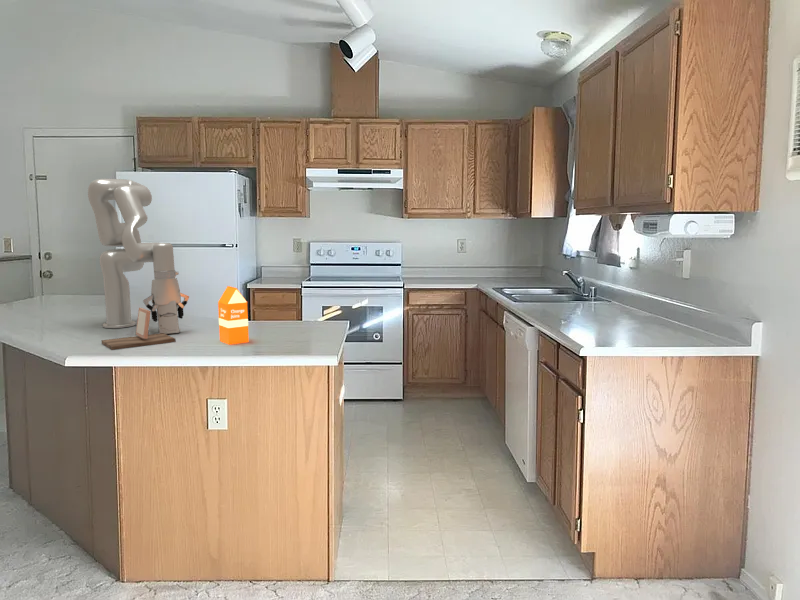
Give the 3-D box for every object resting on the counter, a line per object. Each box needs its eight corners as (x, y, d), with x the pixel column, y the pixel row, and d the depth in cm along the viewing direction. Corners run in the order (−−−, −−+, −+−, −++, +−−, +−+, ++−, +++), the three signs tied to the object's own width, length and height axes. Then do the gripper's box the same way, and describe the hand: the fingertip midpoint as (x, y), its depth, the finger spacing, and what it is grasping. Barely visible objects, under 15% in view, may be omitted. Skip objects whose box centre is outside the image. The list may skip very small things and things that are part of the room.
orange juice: (228, 344, 239) (226, 288, 236) (219, 340, 246) (216, 286, 243) (249, 342, 243) (247, 287, 240) (239, 338, 250) (237, 285, 247)
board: (101, 343, 242) (101, 340, 242) (163, 336, 256) (162, 333, 255) (111, 349, 231) (111, 346, 231) (175, 341, 244) (175, 338, 244)
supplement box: (159, 335, 257) (155, 302, 255) (159, 332, 264) (155, 300, 262) (179, 332, 259) (175, 300, 257) (179, 329, 266) (175, 298, 264)
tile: (139, 334, 248) (135, 334, 247) (142, 307, 248) (138, 307, 247) (147, 338, 240) (143, 338, 239) (150, 311, 240) (147, 310, 239)
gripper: (183, 273, 265) (186, 316, 267) (138, 276, 255) (142, 321, 257) (190, 274, 259) (193, 318, 261) (144, 277, 249) (148, 323, 251)
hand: (168, 319), depth 259 cm, fingers open, 9 cm apart
